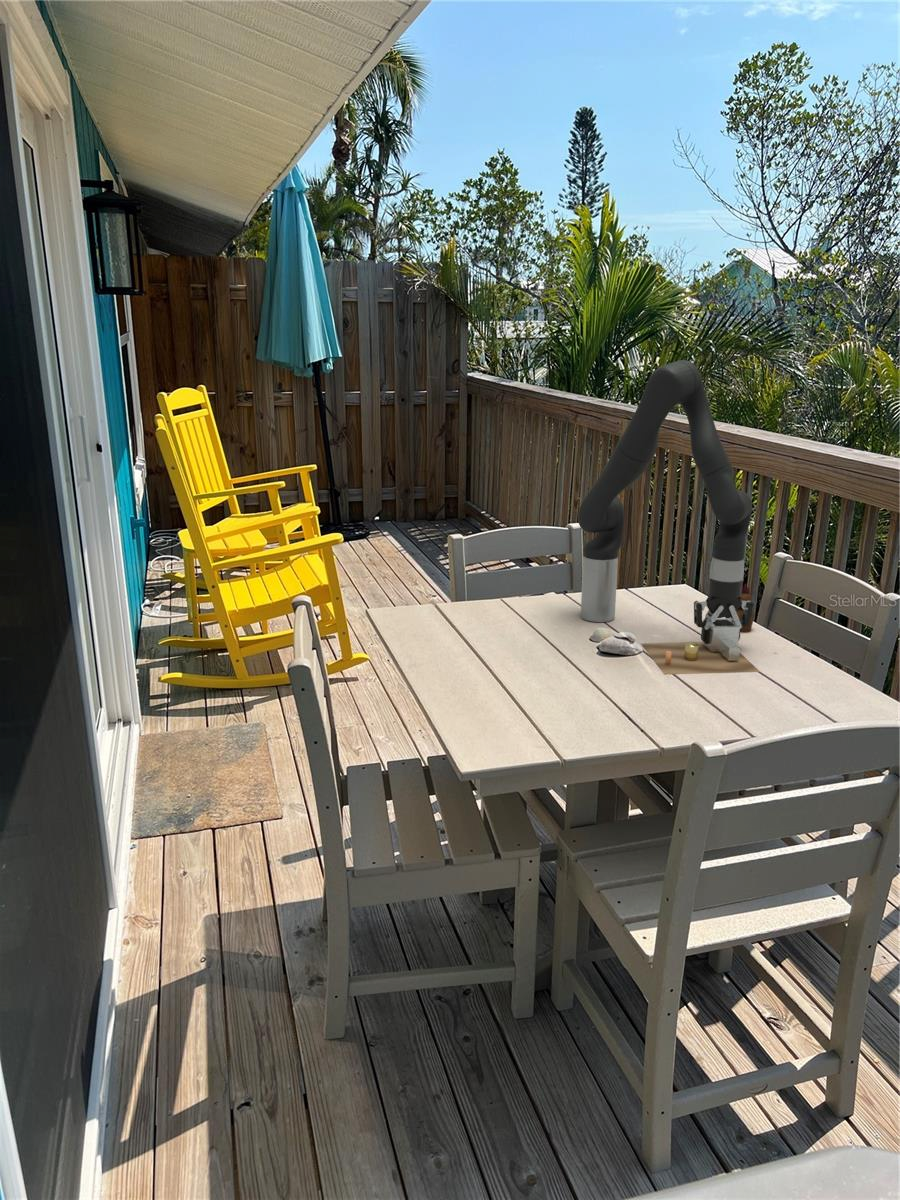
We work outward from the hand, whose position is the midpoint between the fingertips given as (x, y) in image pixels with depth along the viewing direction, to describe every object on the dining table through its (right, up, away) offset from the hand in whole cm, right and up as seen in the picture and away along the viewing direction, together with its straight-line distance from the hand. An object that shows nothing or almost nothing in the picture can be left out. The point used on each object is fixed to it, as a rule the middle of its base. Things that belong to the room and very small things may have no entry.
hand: (719, 642), depth 214 cm
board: (-7, -5, -5) cm, 9 cm away
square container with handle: (0, -2, -3) cm, 3 cm away
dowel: (-15, -5, -9) cm, 18 cm away
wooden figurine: (+9, +1, +15) cm, 17 cm away
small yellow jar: (-9, -4, -6) cm, 11 cm away
